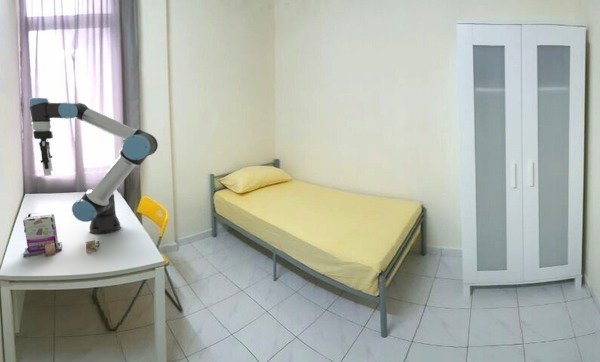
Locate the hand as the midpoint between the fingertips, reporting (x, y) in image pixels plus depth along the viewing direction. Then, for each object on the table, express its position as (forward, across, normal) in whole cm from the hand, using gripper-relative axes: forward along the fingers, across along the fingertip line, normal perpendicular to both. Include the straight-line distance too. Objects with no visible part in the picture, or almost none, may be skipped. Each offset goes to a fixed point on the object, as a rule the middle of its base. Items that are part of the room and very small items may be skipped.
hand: (48, 173), depth 170 cm
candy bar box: (+34, +15, -5) cm, 38 cm away
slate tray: (+35, +16, -5) cm, 38 cm away
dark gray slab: (+35, +20, +16) cm, 43 cm away
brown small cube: (+35, +22, -2) cm, 41 cm away
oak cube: (+35, +26, +14) cm, 45 cm away
